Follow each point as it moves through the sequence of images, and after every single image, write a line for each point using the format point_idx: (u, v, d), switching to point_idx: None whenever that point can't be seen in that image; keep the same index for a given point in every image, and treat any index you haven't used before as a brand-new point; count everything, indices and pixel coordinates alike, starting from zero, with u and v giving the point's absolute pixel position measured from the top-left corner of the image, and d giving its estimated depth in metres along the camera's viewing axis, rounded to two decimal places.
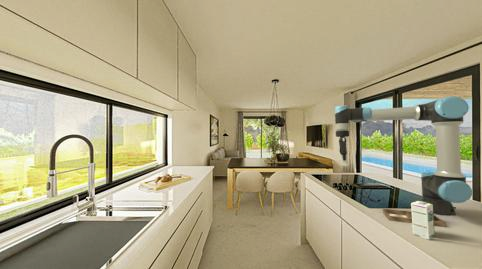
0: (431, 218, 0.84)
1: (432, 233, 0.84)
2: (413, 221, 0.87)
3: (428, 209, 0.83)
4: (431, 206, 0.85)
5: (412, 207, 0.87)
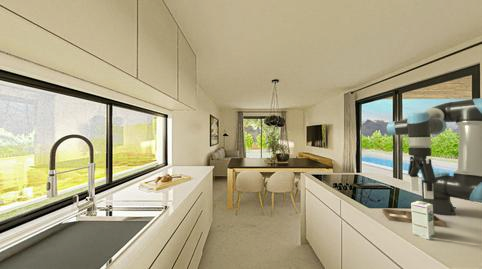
0: (431, 218, 0.84)
1: (432, 233, 0.84)
2: (413, 221, 0.87)
3: (428, 209, 0.83)
4: (431, 206, 0.85)
5: (412, 207, 0.87)
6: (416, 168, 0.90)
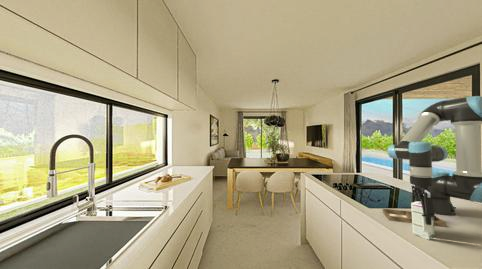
0: None
1: (432, 233, 0.84)
2: (413, 221, 0.87)
3: None
4: None
5: (412, 207, 0.87)
6: (419, 198, 0.89)
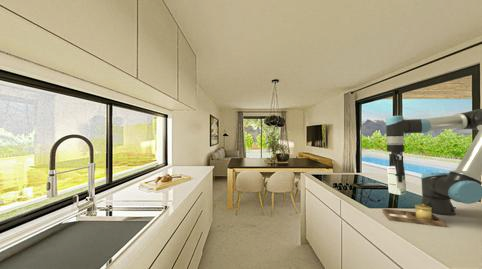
0: (403, 177, 1.02)
1: (403, 190, 1.02)
2: (389, 181, 1.05)
3: None
4: None
5: (388, 170, 1.06)
6: (394, 163, 1.07)
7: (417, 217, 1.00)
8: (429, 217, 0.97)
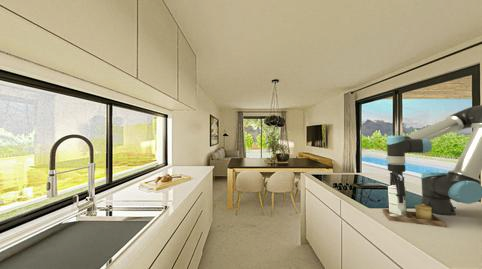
0: None
1: (404, 210, 1.02)
2: (389, 201, 1.05)
3: None
4: None
5: (388, 189, 1.05)
6: (395, 182, 1.07)
7: (417, 217, 1.00)
8: (429, 217, 0.97)
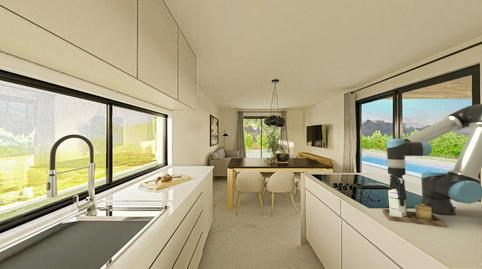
0: None
1: (405, 215, 1.02)
2: (390, 205, 1.05)
3: None
4: None
5: (389, 193, 1.05)
6: (395, 185, 1.07)
7: (417, 217, 1.00)
8: (429, 217, 0.97)
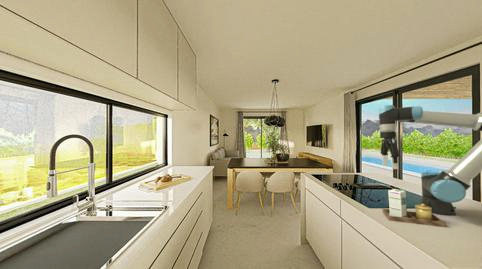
0: (404, 202, 1.02)
1: (405, 215, 1.02)
2: (390, 205, 1.05)
3: (401, 195, 1.01)
4: (404, 193, 1.03)
5: (389, 193, 1.05)
6: (386, 148, 1.18)
7: (417, 217, 1.00)
8: (429, 217, 0.97)
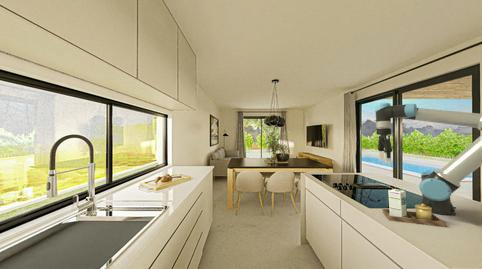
0: (404, 202, 1.02)
1: (405, 215, 1.02)
2: (390, 205, 1.05)
3: (401, 195, 1.01)
4: (405, 193, 1.03)
5: (389, 193, 1.05)
6: (382, 144, 1.24)
7: (417, 217, 1.00)
8: (429, 217, 0.97)
